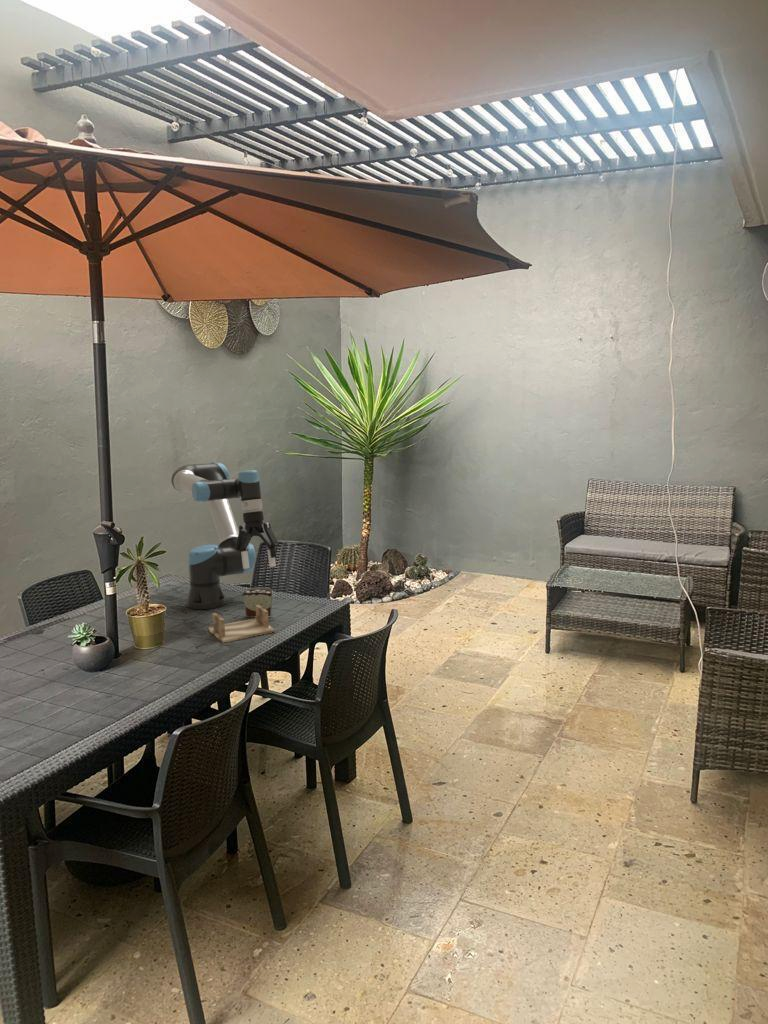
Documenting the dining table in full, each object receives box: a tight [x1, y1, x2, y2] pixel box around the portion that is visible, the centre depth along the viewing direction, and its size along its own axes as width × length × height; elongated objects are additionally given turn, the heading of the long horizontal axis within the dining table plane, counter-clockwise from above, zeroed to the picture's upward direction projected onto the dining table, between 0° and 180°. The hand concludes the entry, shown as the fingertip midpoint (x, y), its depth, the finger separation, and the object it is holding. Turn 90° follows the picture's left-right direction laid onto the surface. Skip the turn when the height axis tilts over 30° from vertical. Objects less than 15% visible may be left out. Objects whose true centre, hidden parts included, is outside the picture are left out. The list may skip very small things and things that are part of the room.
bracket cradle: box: [207, 605, 276, 644], centre depth 260 cm, size 16×19×7 cm
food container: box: [241, 586, 275, 617], centre depth 279 cm, size 12×6×10 cm, turn 84°
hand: (259, 567), depth 275 cm, fingers open, 13 cm apart
